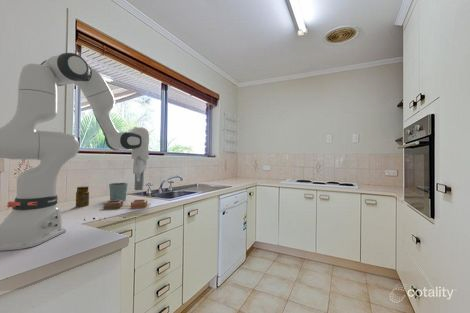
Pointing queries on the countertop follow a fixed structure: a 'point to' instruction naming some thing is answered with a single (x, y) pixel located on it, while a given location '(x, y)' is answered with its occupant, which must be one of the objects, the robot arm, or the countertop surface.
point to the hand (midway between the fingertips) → (139, 180)
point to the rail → (119, 204)
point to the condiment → (82, 196)
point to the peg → (139, 182)
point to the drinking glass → (118, 191)
